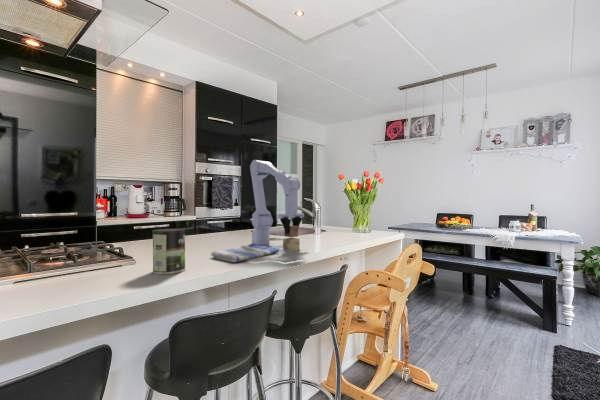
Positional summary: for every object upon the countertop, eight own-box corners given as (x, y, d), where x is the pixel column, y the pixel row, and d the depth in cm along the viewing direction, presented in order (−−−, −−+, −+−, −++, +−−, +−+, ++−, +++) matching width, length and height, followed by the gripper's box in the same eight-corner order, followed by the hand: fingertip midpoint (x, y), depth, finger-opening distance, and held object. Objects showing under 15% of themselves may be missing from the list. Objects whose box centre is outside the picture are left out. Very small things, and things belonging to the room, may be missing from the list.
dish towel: (209, 257, 126) (209, 251, 126) (254, 248, 143) (254, 242, 143) (234, 263, 114) (233, 256, 114) (279, 253, 131) (279, 246, 131)
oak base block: (282, 248, 142) (282, 238, 142) (291, 247, 146) (291, 237, 146) (290, 250, 138) (290, 239, 138) (299, 249, 142) (299, 238, 142)
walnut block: (284, 236, 142) (284, 225, 142) (291, 235, 145) (291, 225, 145) (290, 237, 139) (290, 226, 139) (297, 236, 142) (297, 225, 142)
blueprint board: (255, 250, 143) (255, 248, 143) (281, 246, 154) (281, 244, 154) (275, 255, 131) (275, 253, 131) (303, 250, 142) (303, 248, 142)
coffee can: (188, 266, 109) (188, 227, 109) (181, 274, 99) (181, 230, 99) (157, 268, 108) (157, 228, 108) (148, 275, 97) (147, 231, 97)
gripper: (284, 204, 134) (284, 235, 134) (308, 204, 144) (308, 232, 144) (274, 204, 139) (274, 233, 140) (298, 203, 149) (298, 231, 149)
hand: (291, 233), depth 142 cm, fingers closed on walnut block, 4 cm apart
